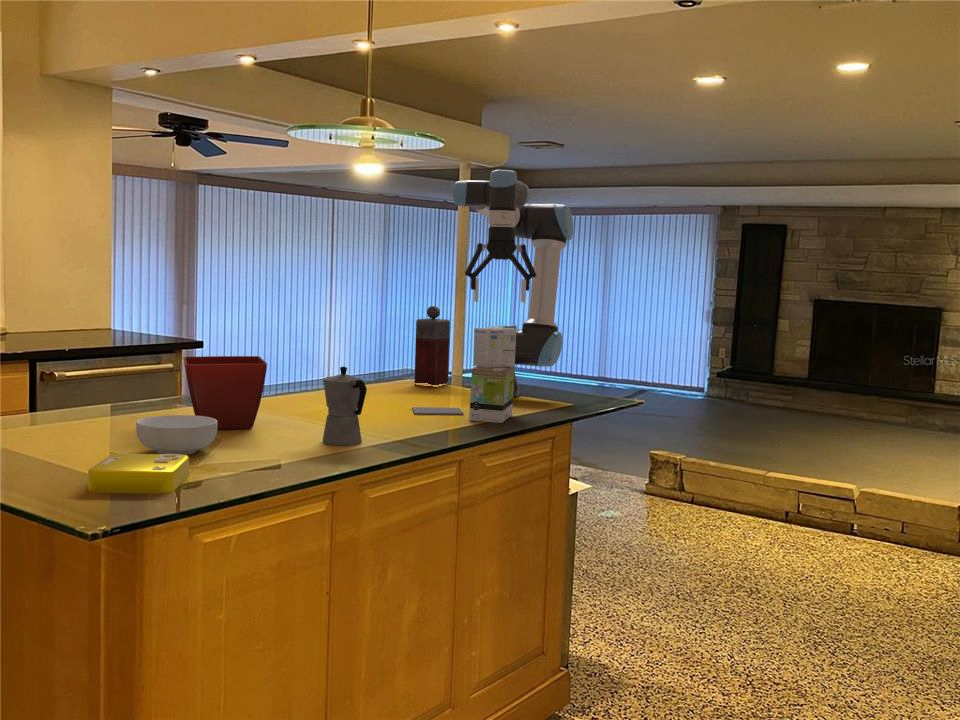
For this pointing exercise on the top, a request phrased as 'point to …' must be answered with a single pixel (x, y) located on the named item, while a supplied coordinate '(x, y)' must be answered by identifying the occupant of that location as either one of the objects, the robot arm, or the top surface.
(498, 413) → the tea box
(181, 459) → the element tile
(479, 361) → the light bulb box
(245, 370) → the plant pot
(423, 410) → the rubber mat
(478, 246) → the robot arm
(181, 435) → the cereal bowl
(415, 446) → the top surface
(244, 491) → the top surface
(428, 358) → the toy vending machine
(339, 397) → the coffeepot
